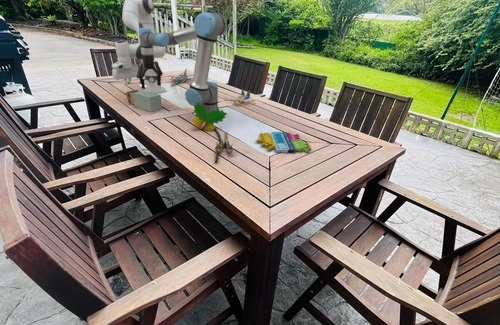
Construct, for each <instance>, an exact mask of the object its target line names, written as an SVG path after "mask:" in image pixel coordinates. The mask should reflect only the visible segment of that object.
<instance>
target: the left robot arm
mask: <svg viewBox="0 0 500 325" xmlns="http://www.w3.org/2000/svg"><path fill="white" fill-rule="evenodd" d="M122 4H123V5H122V14H121V18H122V22H123V24H124V25H125V26H126V27H127V28H128V29H130V30H133V31H135V32H136V33H137V41H138V43H137V42H136V43H132V44H131V43H129V42H128V40H127V39H121V38H120V39H117V40H115V42H114V44H115V53H116V56H117V61H116V62H114V63H113V64H111V68H112V70H111V75H112V78H113V80H116V81H120V80H123V81H124V82H125V85H131V82H132V78H136V77H137V73H138V69H139V64H137V63H132V60H133V59H135V60H139V61H140V63H143V60H142V55H143V54H142V53H141V46H140V39H139V28H149V29H151V32H152V33H156V32H155V24H154V18H153V14H152V12H153V10H154V1H153V0H123V3H122ZM153 52H154V54H153V55H154V59H161V58H164V57H165V55H166V49H165V47H160V46H154V45H153ZM154 66H155V65H154ZM143 67H144V66H143ZM155 68H156V67H155ZM145 69H146V68H145ZM156 69H157V68H156ZM157 71H158V70H157ZM157 76H158V75H157V74H156V73H155V72H154V71H153V69H150V70H147V71H146V73H145V75H144V77H143V79H144V83H145V89H142V90H141V91H148V92H152V93H156V94H159V93H163V92H165V89H164V87H163V85H162V84H163V83H162V82H161V86H158V85H157Z"/></svg>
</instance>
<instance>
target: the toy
mask: <svg viewBox="0 0 500 325" xmlns="http://www.w3.org/2000/svg"><path fill="white" fill-rule="evenodd" d="M240 92H241V93H240V95H238V96H237V97H235V99H233V98H230V99H228V98H227V97H226V96H225V97H224V98H223V101H224V102H233V103H232V104H233V105H235V106H242V103H243V104H247V105H252V106H255V105H256V104H257V103H256V102H254V101H253V100H252V101H251V102H250V101H248V100H246V99H248V98H250V97H251V90H250V89H249V90H248V91H247V92H246V93H245V91H244V89H242V90H241V91H240Z"/></svg>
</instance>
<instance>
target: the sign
mask: <svg viewBox="0 0 500 325" xmlns="http://www.w3.org/2000/svg"><path fill="white" fill-rule="evenodd" d="M299 136H300V135H299V134H298V133H296V134H294V133H291V132H287V131H270V132H264V133H263V132H260V133H259V139H258V138H257V139H256V143H257V144H261V148H263V147H264V148H265V149H267V151H268V152H271V151H272V150H273V149H275V152H276V153H283V154H285V153H287V154H288V153H290V154H293V153H296V152H298V153H301V152H305V153H310V151H311V150H312V149H311V148H312V146H309V142H304V141H303V139H302V138H299Z"/></svg>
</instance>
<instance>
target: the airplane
mask: <svg viewBox="0 0 500 325" xmlns="http://www.w3.org/2000/svg"><path fill="white" fill-rule="evenodd" d="M169 77H170V80H173V79H174V80H173V81H172V82H171V83H170V87H171V86H172V87H173V86H175V85H177V84H180V83H181V84H183V83H185V82H186V81H188V82H191V81H192V80H193V77H191V75H188V74H187V68H185V70H184V72H183V74H179V76H175V75H174V76H173V75H168V78H169Z"/></svg>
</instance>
